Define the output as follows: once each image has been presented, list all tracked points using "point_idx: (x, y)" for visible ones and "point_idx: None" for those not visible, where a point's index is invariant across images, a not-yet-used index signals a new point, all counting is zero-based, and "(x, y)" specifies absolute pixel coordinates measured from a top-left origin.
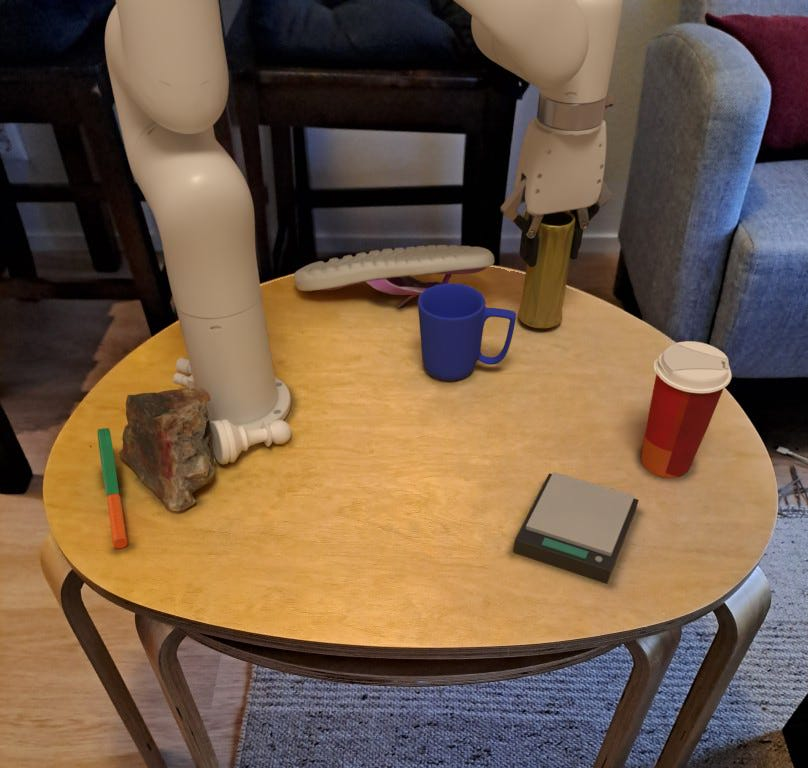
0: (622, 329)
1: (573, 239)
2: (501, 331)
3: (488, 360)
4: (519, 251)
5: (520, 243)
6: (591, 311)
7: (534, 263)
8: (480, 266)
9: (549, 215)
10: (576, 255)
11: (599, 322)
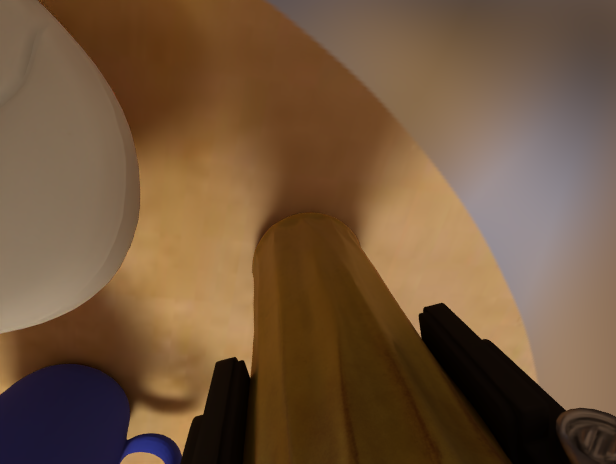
0: (477, 300)
1: None
2: (210, 284)
3: (149, 450)
4: (193, 419)
5: (182, 459)
6: (441, 226)
7: None
8: (51, 319)
9: (410, 453)
10: None
11: (441, 271)
